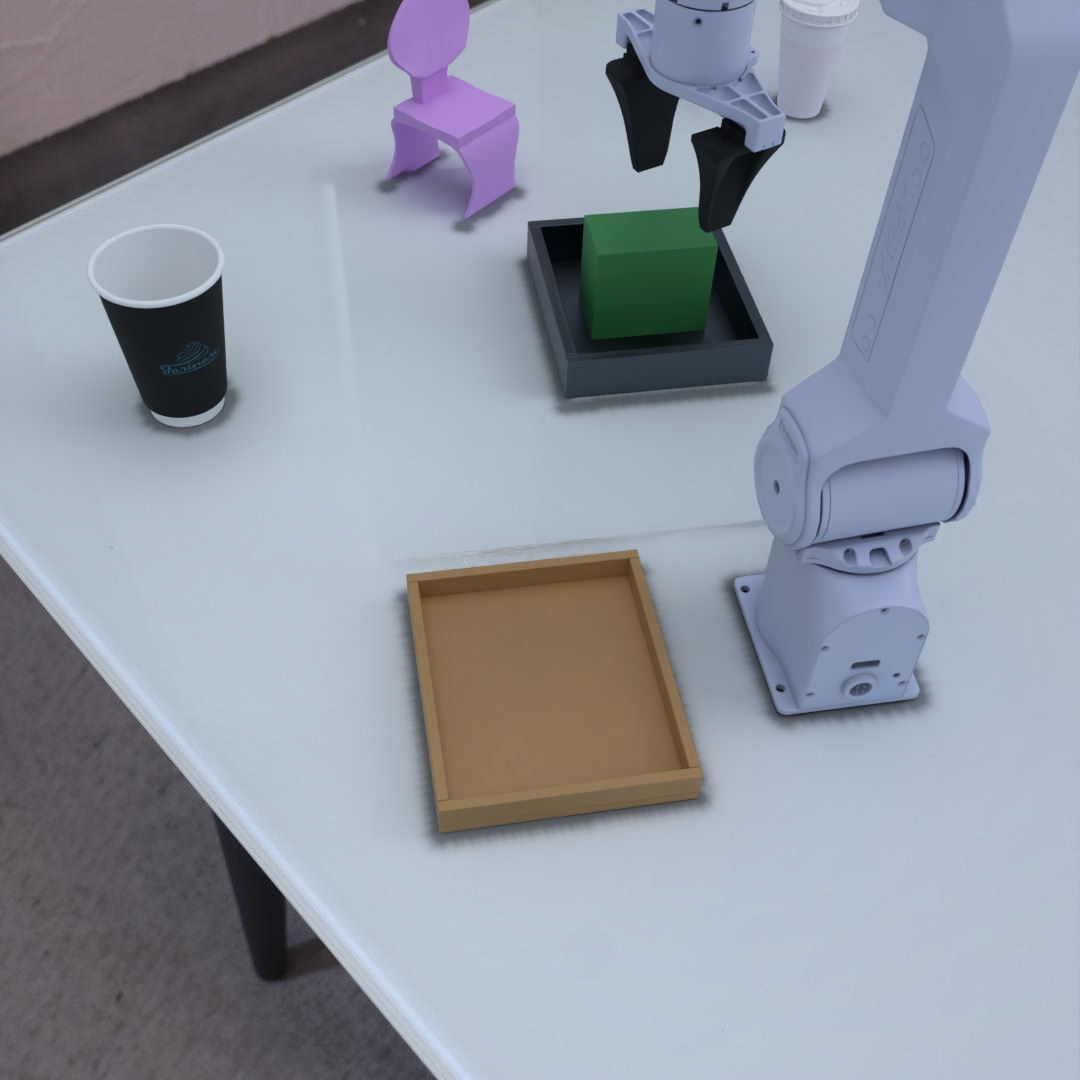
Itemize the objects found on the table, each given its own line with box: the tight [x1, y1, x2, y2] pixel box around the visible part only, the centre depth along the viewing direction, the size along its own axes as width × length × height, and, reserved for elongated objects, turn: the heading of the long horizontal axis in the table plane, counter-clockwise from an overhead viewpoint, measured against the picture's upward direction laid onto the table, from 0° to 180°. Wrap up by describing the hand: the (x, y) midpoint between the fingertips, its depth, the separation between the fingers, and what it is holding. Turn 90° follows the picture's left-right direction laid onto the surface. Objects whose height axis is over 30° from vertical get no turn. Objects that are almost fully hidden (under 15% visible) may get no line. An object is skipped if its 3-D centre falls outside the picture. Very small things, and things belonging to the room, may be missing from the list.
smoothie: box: [776, 0, 860, 119], centre depth 107 cm, size 6×6×14 cm
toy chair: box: [386, 0, 520, 219], centre depth 96 cm, size 8×9×15 cm
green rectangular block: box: [579, 206, 718, 340], centre depth 89 cm, size 4×8×7 cm, turn 100°
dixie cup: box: [86, 223, 228, 428], centre depth 81 cm, size 8×8×11 cm
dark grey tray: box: [526, 216, 775, 400], centre depth 90 cm, size 16×14×4 cm
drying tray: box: [405, 548, 704, 834], centre depth 70 cm, size 15×13×2 cm
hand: (680, 195), depth 84 cm, fingers open, 7 cm apart
